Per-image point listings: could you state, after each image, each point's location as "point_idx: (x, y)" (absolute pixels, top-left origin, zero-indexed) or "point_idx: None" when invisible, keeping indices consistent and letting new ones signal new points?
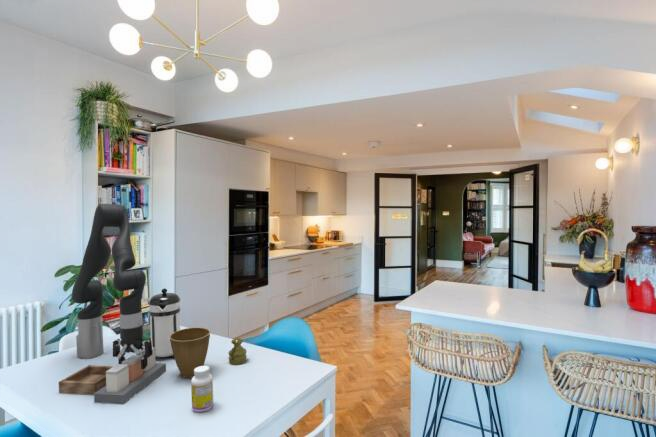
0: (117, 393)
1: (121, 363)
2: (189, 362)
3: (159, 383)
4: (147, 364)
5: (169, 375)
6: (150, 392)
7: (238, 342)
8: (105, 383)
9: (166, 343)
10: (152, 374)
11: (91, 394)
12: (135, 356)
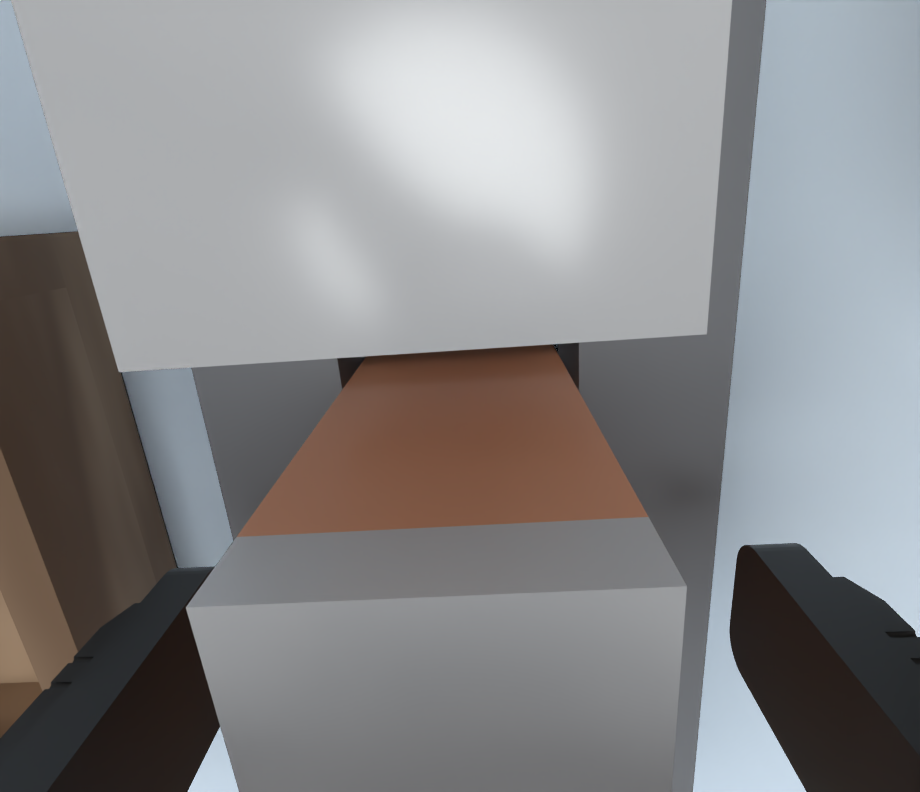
0: None
1: (189, 772)
2: None
3: (824, 333)
4: (890, 610)
5: (873, 24)
6: (816, 559)
7: None
8: (138, 576)
9: None
10: (728, 309)
11: None
12: (433, 703)
